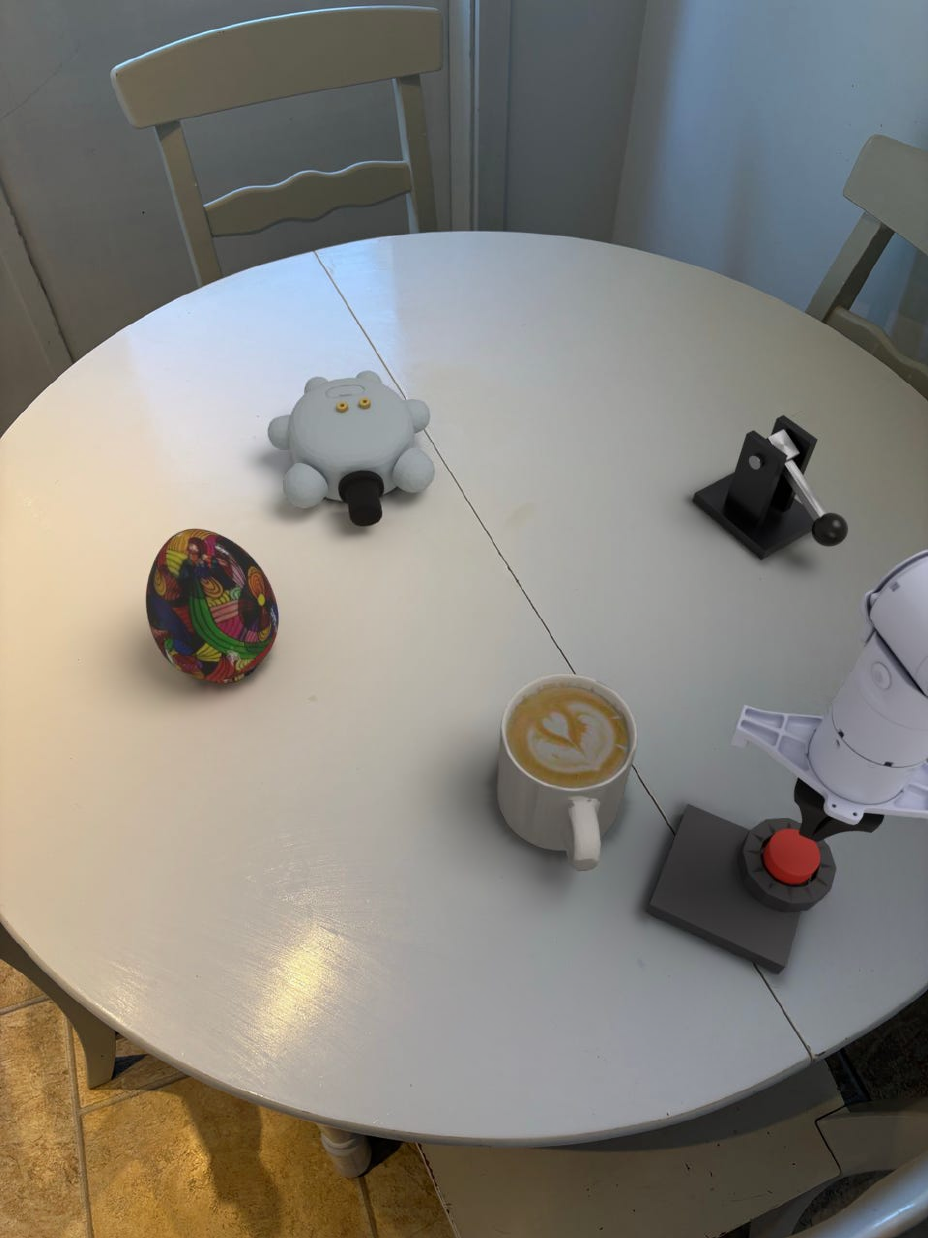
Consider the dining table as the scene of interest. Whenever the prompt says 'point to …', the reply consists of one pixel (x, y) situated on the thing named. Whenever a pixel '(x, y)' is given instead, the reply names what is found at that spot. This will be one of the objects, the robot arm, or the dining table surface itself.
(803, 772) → the robot arm
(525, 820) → the coffee mug
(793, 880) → the button
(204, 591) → the egg
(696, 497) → the bracket
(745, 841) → the button block
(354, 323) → the dining table surface
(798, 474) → the lever
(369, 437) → the figurine
